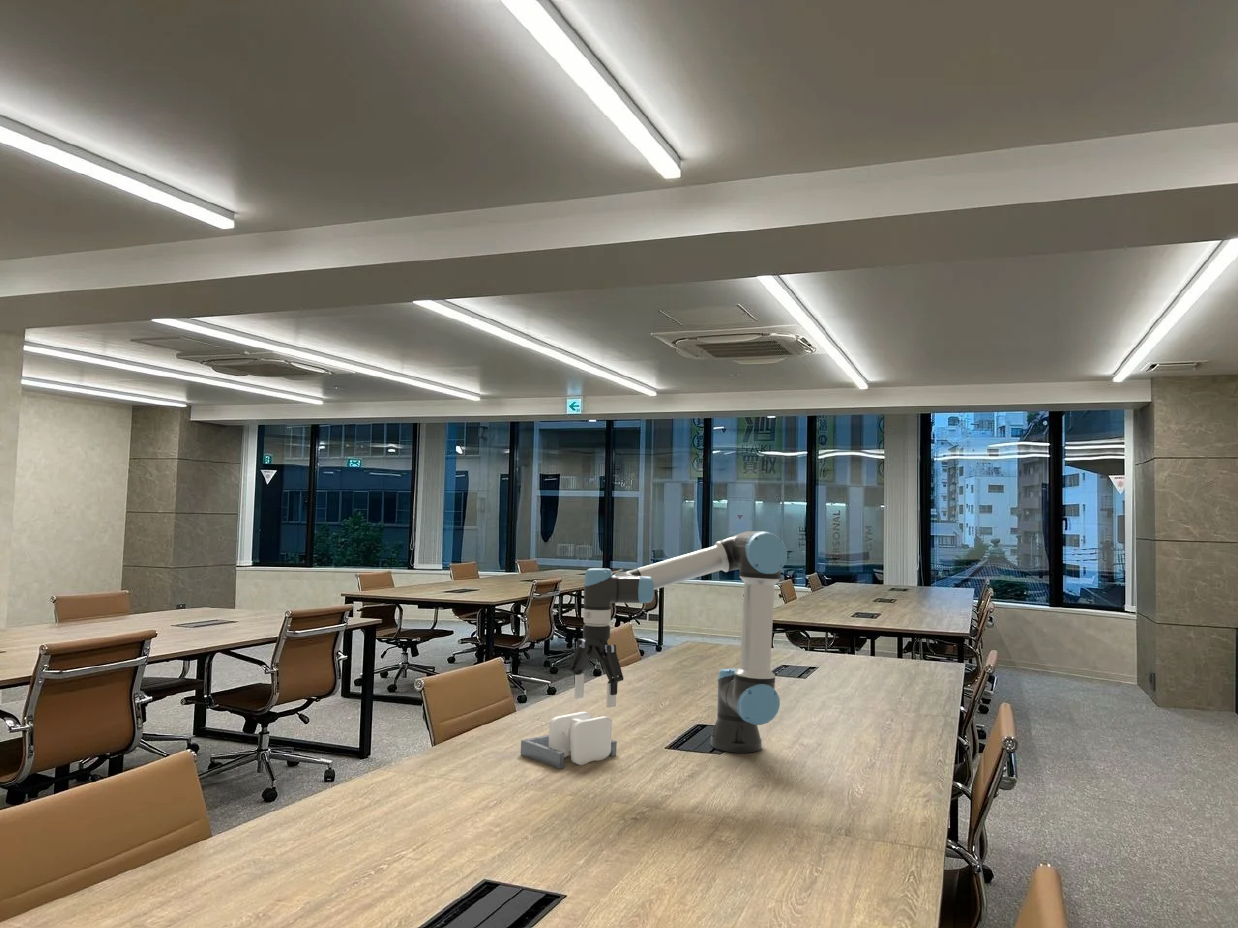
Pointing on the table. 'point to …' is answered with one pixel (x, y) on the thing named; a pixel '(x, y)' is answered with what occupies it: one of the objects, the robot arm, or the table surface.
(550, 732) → the cable organizer
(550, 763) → the bracket
